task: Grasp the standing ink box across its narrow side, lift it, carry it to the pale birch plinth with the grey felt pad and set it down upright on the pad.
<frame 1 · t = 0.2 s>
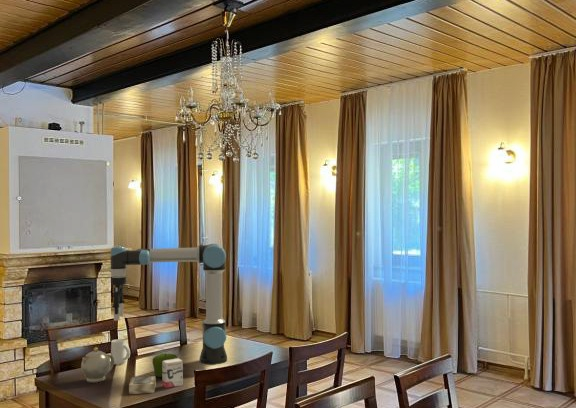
hand: (118, 318, 295), 28 cm above the table, fingers open, 13 cm apart
mug: (121, 363, 314), on the table
teapot: (98, 380, 281), on the table
apple: (165, 376, 286), on the table
ink box: (172, 385, 270), on the table
plinth: (142, 389, 265), on the table
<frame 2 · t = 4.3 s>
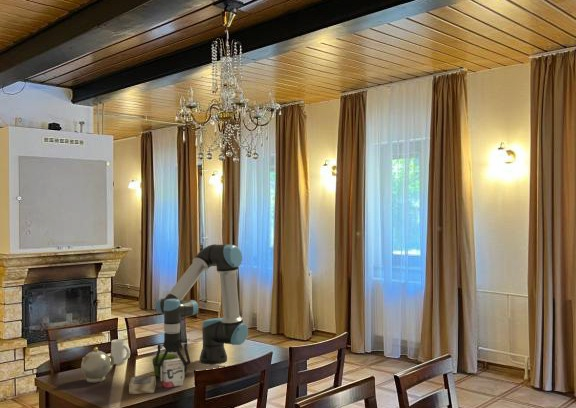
hand: (172, 379, 270), 3 cm above the table, fingers closed on ink box, 9 cm apart
ink box: (172, 385, 270), on the table, touching gripper
everything else where it was.
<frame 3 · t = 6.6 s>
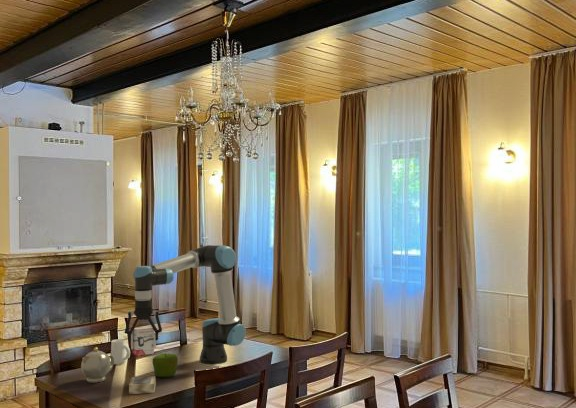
hand: (143, 348, 266), 19 cm above the table, fingers closed on ink box, 9 cm apart
ink box: (143, 354, 266), point 16 cm above the table, touching gripper
everything else where it was.
when the fingers open (8 cm above the table, at t = 9.1 s): ink box drops 1 cm, resting on plinth.
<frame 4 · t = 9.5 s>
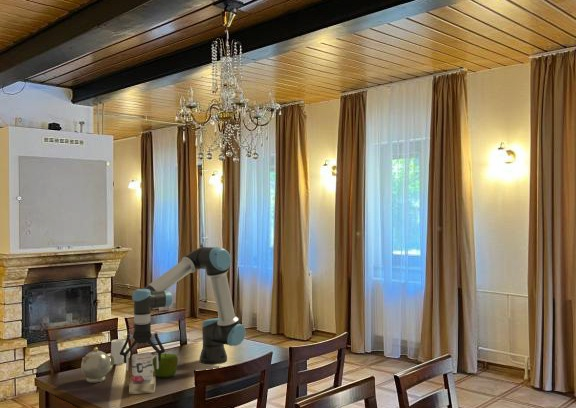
hand: (142, 369, 265), 9 cm above the table, fingers open, 13 cm apart
ink box: (142, 380, 265), point 4 cm above the table, touching plinth
everything else where it was.
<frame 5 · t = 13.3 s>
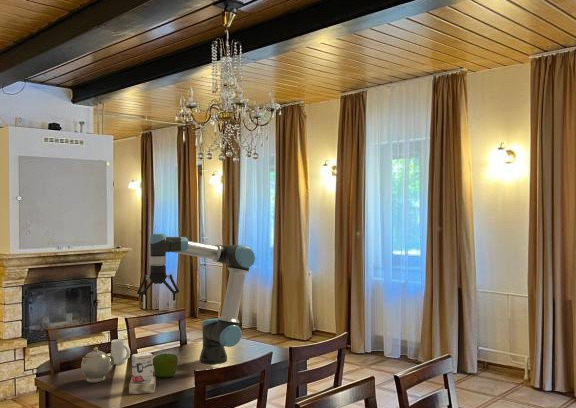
hand: (158, 308, 283), 35 cm above the table, fingers open, 13 cm apart
nothing on the table moved.
at the end: ink box inside the target area on the plinth (0.1 cm from its centre), point 4.1 cm above the plinth's base; ink box tilted 0°; the gripper is holding nothing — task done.
